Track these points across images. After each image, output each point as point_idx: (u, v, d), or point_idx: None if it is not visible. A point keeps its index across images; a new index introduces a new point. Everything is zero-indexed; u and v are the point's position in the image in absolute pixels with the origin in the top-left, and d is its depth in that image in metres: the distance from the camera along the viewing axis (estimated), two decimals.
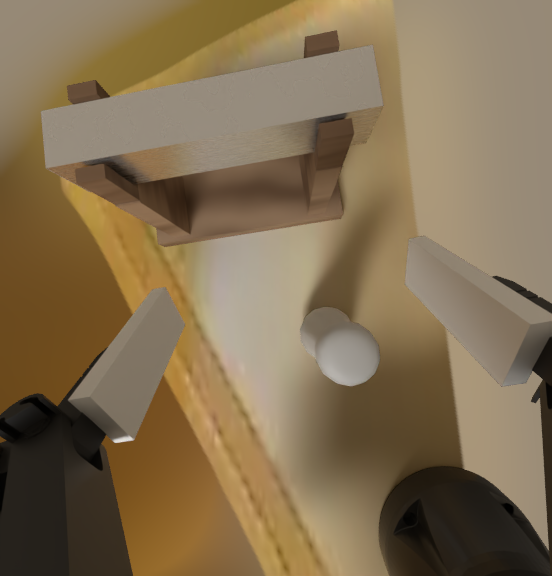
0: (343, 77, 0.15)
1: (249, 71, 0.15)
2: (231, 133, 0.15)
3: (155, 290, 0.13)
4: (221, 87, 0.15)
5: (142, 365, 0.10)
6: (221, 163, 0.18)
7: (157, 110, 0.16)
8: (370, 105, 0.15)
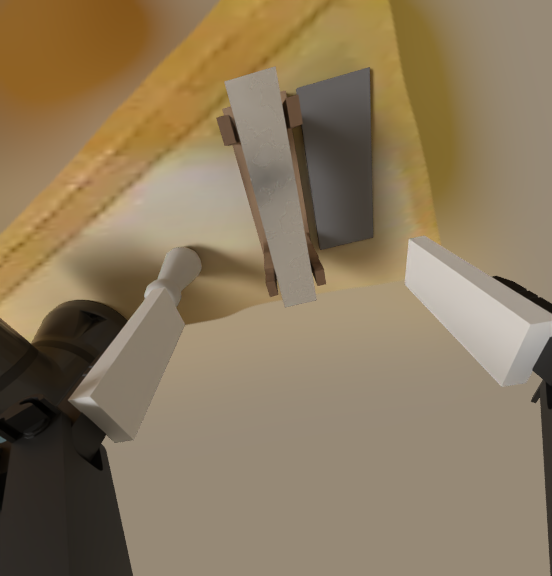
0: (299, 289, 0.28)
1: None
2: None
3: (155, 290, 0.13)
4: (295, 225, 0.24)
5: (142, 365, 0.10)
6: None
7: (279, 182, 0.22)
8: (285, 302, 0.29)
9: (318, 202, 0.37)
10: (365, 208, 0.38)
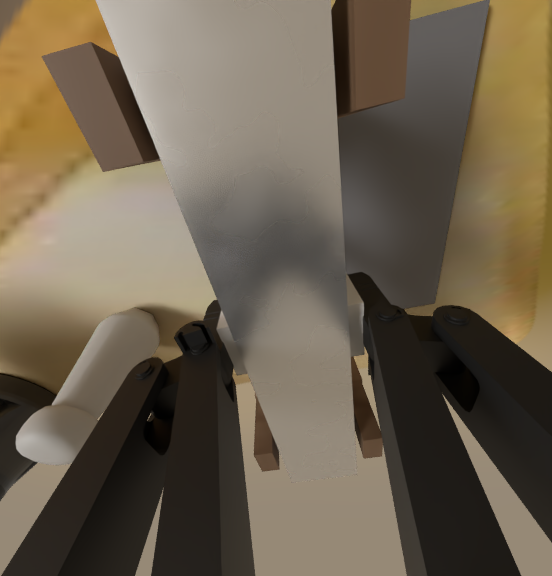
0: (325, 462, 0.14)
1: (352, 396, 0.11)
2: None
3: None
4: (330, 372, 0.10)
5: None
6: None
7: (296, 284, 0.07)
8: (292, 476, 0.14)
9: (354, 250, 0.22)
10: (430, 262, 0.23)
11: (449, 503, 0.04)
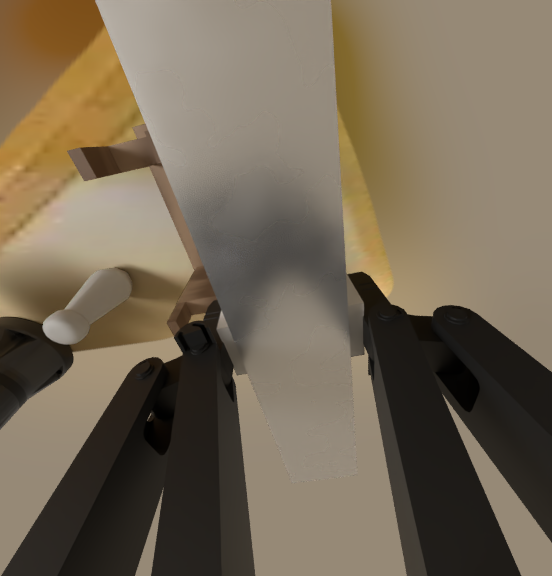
0: (325, 462, 0.14)
1: (352, 396, 0.11)
2: None
3: None
4: (330, 373, 0.09)
5: None
6: None
7: (296, 284, 0.07)
8: (292, 477, 0.14)
9: None
10: None
11: (449, 503, 0.04)
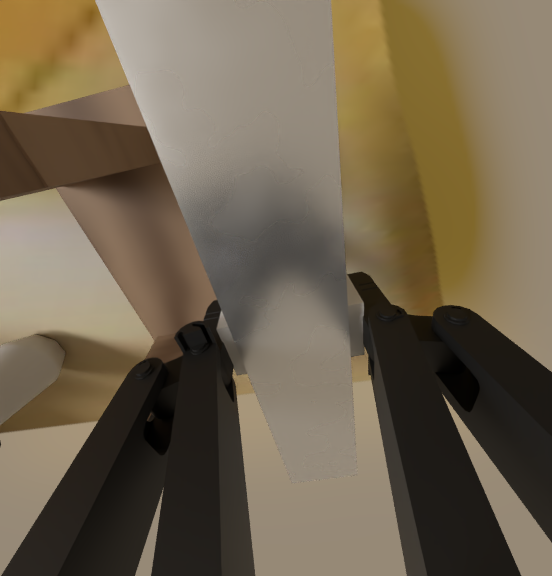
0: (325, 463, 0.14)
1: (352, 396, 0.11)
2: None
3: None
4: (330, 373, 0.09)
5: None
6: None
7: (296, 284, 0.07)
8: (292, 477, 0.14)
9: None
10: None
11: (449, 503, 0.04)
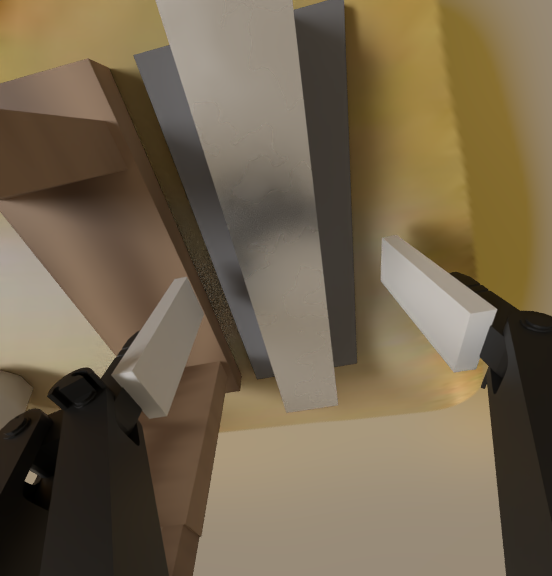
0: (312, 392, 0.17)
1: None
2: (257, 319, 0.14)
3: (177, 279, 0.13)
4: (311, 306, 0.13)
5: (171, 348, 0.11)
6: None
7: (285, 234, 0.11)
8: (287, 406, 0.18)
9: (241, 310, 0.18)
10: (340, 321, 0.18)
11: None
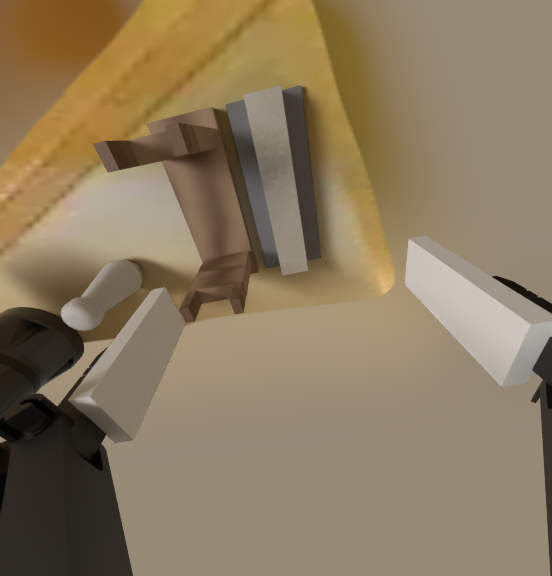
0: (294, 260, 0.35)
1: (300, 219, 0.32)
2: (269, 213, 0.32)
3: (155, 290, 0.13)
4: (292, 207, 0.31)
5: (142, 365, 0.10)
6: None
7: (281, 172, 0.29)
8: (282, 270, 0.36)
9: (260, 220, 0.36)
10: (310, 228, 0.36)
11: None
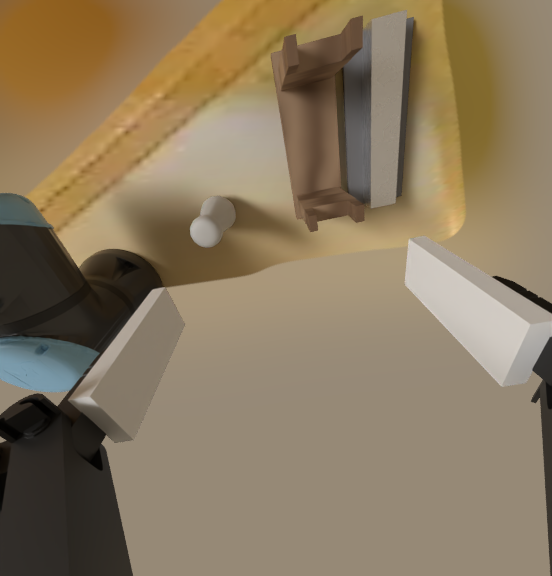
0: (385, 192, 0.38)
1: (398, 149, 0.35)
2: (371, 142, 0.35)
3: (155, 290, 0.13)
4: (393, 135, 0.34)
5: (142, 365, 0.10)
6: (364, 131, 0.36)
7: (390, 98, 0.32)
8: (371, 203, 0.39)
9: (352, 156, 0.38)
10: None
11: None
